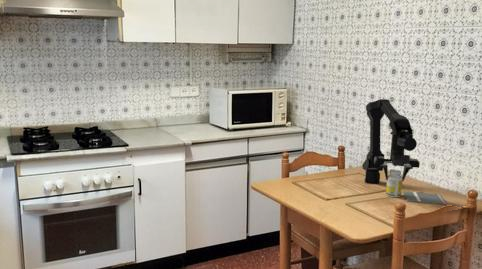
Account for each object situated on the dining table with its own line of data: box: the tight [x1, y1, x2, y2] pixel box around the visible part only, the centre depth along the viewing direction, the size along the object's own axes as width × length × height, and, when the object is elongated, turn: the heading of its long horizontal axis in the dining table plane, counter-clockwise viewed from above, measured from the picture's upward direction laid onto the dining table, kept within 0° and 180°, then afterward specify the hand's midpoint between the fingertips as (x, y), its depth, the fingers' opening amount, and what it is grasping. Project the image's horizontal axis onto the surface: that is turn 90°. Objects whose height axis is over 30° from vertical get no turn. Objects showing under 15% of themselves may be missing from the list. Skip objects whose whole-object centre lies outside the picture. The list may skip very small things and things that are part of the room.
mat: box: [402, 190, 447, 206], centre depth 207 cm, size 16×14×1 cm
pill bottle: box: [385, 168, 403, 198], centre depth 209 cm, size 6×6×12 cm
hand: (394, 180), depth 208 cm, fingers closed on pill bottle, 6 cm apart
